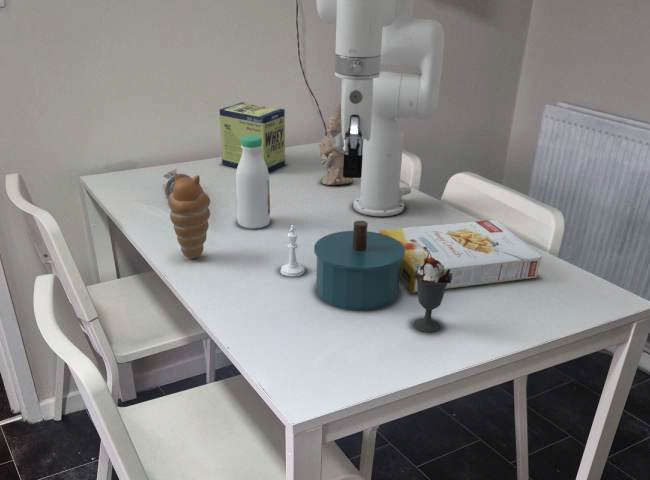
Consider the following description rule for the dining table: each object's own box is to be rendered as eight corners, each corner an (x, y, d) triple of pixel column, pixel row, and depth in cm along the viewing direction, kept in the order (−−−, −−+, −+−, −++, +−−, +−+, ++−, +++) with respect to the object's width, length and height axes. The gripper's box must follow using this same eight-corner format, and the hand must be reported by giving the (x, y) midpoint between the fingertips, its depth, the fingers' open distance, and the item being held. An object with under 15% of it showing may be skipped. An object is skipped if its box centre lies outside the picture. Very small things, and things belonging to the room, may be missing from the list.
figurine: (340, 175, 199) (343, 99, 188) (358, 183, 193) (361, 106, 182) (313, 180, 195) (314, 103, 184) (330, 189, 189) (332, 111, 178)
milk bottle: (265, 230, 166) (263, 143, 154) (233, 227, 167) (229, 141, 156) (273, 218, 172) (272, 133, 161) (242, 215, 173) (239, 131, 162)
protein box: (265, 174, 199) (263, 116, 190) (221, 164, 206) (217, 108, 197) (286, 165, 206) (285, 108, 197) (243, 155, 213) (240, 101, 204)
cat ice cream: (218, 252, 156) (212, 170, 145) (206, 267, 149) (199, 182, 139) (179, 248, 157) (172, 166, 147) (166, 263, 151) (157, 178, 141)
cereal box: (377, 228, 152) (495, 215, 159) (375, 252, 155) (491, 238, 162) (415, 270, 136) (544, 253, 143) (412, 296, 140) (539, 278, 146)
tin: (357, 266, 150) (359, 228, 145) (415, 293, 140) (419, 253, 135) (299, 288, 142) (299, 248, 137) (356, 319, 132) (359, 277, 127)
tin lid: (359, 229, 146) (361, 200, 143) (423, 256, 136) (426, 225, 132) (295, 251, 137) (295, 220, 134) (358, 282, 126) (360, 249, 123)
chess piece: (308, 269, 149) (309, 224, 143) (296, 278, 145) (296, 232, 140) (289, 264, 151) (288, 219, 145) (276, 272, 147) (275, 226, 142)
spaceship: (170, 200, 159) (201, 183, 160) (149, 169, 189) (176, 155, 189) (186, 230, 164) (217, 214, 164) (164, 195, 193) (190, 181, 193)
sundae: (404, 317, 132) (412, 241, 124) (440, 316, 133) (450, 240, 124) (412, 335, 127) (420, 257, 118) (449, 334, 127) (460, 256, 119)
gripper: (380, 77, 111) (373, 185, 121) (379, 57, 126) (373, 155, 135) (332, 75, 112) (329, 183, 121) (337, 56, 126) (333, 154, 136)
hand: (352, 168), depth 128 cm, fingers open, 9 cm apart
